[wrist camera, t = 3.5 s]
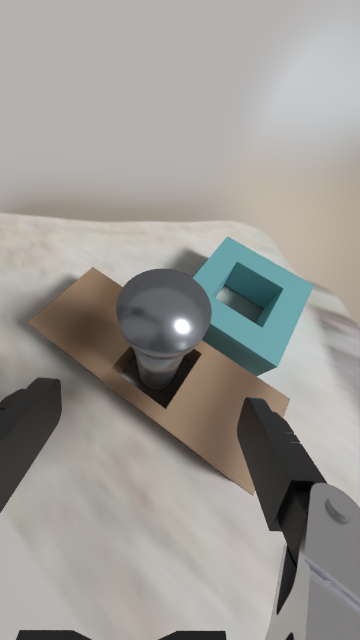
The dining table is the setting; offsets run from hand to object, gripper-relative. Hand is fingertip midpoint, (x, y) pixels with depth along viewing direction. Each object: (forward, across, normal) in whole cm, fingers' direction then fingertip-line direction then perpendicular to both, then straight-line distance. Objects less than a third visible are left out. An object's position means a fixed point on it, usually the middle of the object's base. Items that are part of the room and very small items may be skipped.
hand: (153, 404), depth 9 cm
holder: (+15, -8, -1) cm, 16 cm away
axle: (+10, 0, +4) cm, 10 cm away
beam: (+10, 0, +4) cm, 10 cm away
